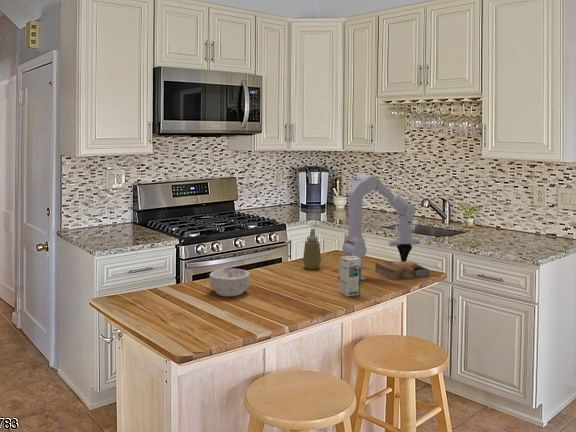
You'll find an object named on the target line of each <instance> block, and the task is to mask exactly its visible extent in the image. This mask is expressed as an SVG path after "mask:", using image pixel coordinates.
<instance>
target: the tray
mask: <svg viewBox="0 0 576 432" xmlns="http://www.w3.org/2000/svg"><path fill="white" fill-rule="evenodd" d="M407 262H408V261H406V262H405V263H407ZM417 266H418V267H417V268H415V269H414V278H413V279H418V278H425V277H430V269H429V268H426V267H424V266H421V265H420V264H417Z"/></svg>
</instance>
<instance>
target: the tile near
mask: <svg viewBox="0 0 576 432" xmlns="http://www.w3.org/2000/svg"><path fill="white" fill-rule="evenodd" d="M392 266H393V267H395V268H397V269H403V268H409V264H408V263H405V262H403V261H401V260H400V261H397V262H392Z"/></svg>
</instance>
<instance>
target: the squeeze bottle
mask: <svg viewBox="0 0 576 432" xmlns="http://www.w3.org/2000/svg"><path fill="white" fill-rule="evenodd" d="M318 238H319V237H318V236H316V234H315V229H314V228H310V234H309V235H308V236H307V237H306V240H307V241H305V242H304V249H303V257H302V258H303V264H304V268H305V269H307V270H313V271H314V270H318V269H319V267H320V264H321V262H322V259H321V258H322V257H321V245H320V242H319V241H318V240H319V239H318Z"/></svg>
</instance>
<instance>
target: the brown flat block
mask: <svg viewBox="0 0 576 432" xmlns="http://www.w3.org/2000/svg"><path fill="white" fill-rule="evenodd" d="M392 262H398V261H397V260H390V261H379V262H378V261H377V262H375V273H378V274H380V275H382V276H384V277H386V278H388V279H390V280H392V281H397V280H406V279H415V278H414V269H413V268H411V267H409V268H403V269H397V268H395V267H393V266H392Z"/></svg>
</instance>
